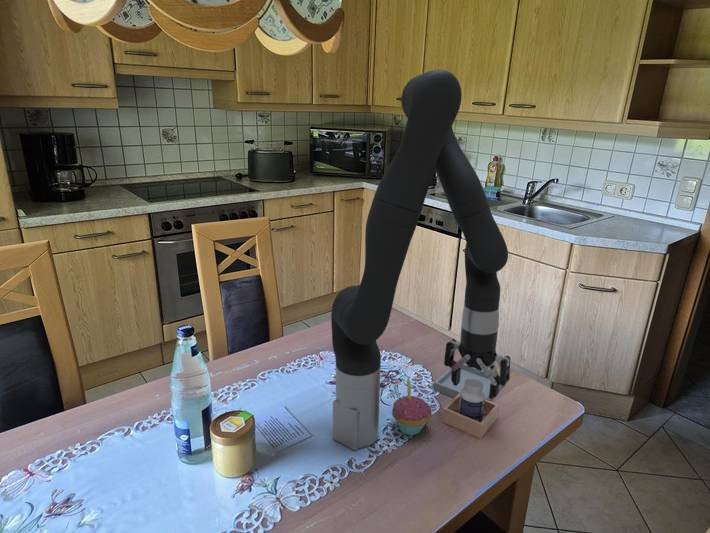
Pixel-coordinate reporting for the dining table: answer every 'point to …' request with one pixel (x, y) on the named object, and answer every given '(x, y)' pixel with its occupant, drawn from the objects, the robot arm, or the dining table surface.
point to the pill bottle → (472, 399)
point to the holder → (467, 423)
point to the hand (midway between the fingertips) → (474, 390)
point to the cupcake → (411, 413)
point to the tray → (462, 381)
